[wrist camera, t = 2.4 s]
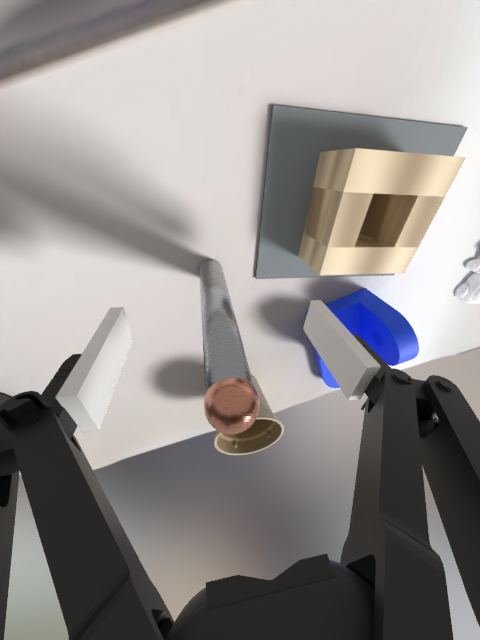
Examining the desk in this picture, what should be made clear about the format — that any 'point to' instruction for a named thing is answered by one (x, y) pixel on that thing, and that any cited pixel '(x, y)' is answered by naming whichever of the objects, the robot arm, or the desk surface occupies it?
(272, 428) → the flower pot
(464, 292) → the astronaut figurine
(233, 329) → the copper-tipped rod
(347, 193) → the block with square hole
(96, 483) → the robot arm
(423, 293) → the desk surface
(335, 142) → the mat
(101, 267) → the desk surface
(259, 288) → the desk surface
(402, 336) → the bracket
